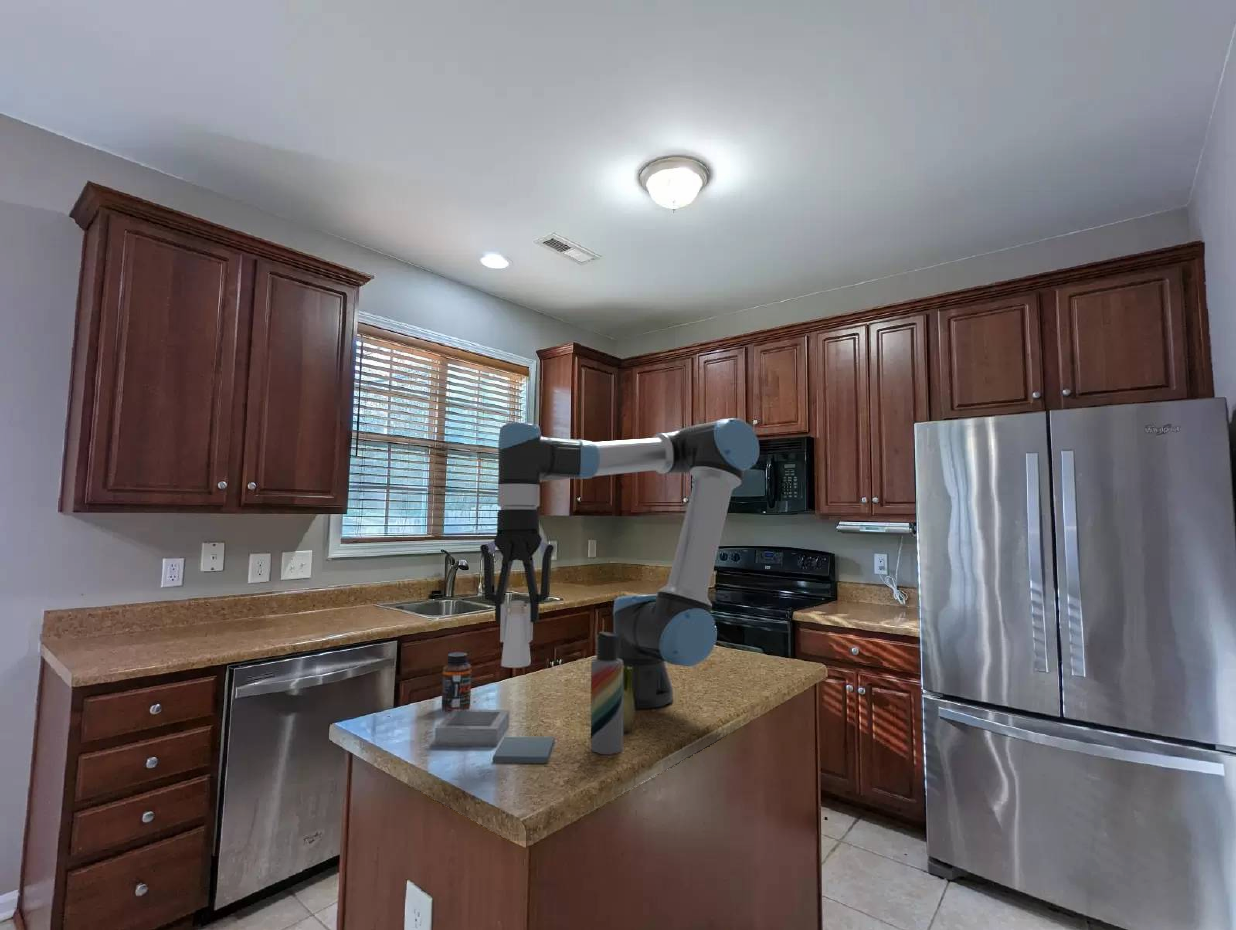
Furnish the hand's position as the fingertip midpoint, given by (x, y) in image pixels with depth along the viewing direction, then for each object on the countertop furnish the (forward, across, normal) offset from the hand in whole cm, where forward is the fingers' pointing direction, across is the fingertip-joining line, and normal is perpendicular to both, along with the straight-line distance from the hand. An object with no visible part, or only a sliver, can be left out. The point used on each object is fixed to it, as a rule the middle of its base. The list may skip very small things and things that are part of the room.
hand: (516, 640), depth 107 cm
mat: (+19, -2, +2) cm, 19 cm away
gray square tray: (+19, +9, -6) cm, 22 cm away
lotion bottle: (+19, -16, -1) cm, 25 cm away
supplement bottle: (+19, +18, -22) cm, 34 cm away
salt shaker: (+4, 0, 0) cm, 4 cm away
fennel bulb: (+19, -18, -10) cm, 28 cm away
